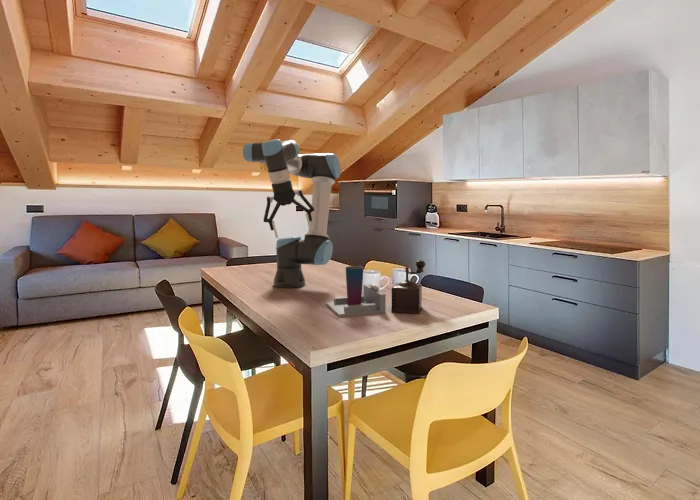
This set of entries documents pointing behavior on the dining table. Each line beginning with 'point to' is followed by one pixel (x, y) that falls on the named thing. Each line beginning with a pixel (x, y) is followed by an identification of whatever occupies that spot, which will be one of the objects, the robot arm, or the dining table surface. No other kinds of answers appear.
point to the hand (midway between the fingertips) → (293, 233)
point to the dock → (369, 303)
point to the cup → (354, 284)
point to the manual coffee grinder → (408, 293)
